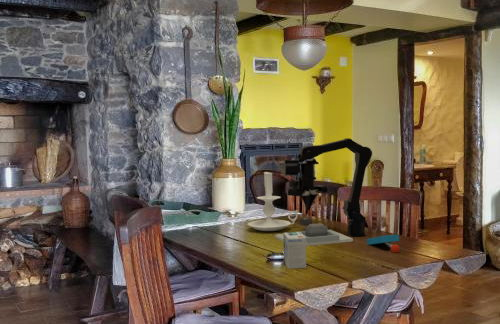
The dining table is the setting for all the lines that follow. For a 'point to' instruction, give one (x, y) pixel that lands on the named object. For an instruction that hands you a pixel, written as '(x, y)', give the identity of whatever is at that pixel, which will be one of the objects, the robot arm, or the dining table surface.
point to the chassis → (322, 238)
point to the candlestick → (270, 210)
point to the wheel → (305, 221)
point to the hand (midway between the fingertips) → (308, 210)
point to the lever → (386, 241)
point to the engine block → (316, 230)
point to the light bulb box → (294, 250)
